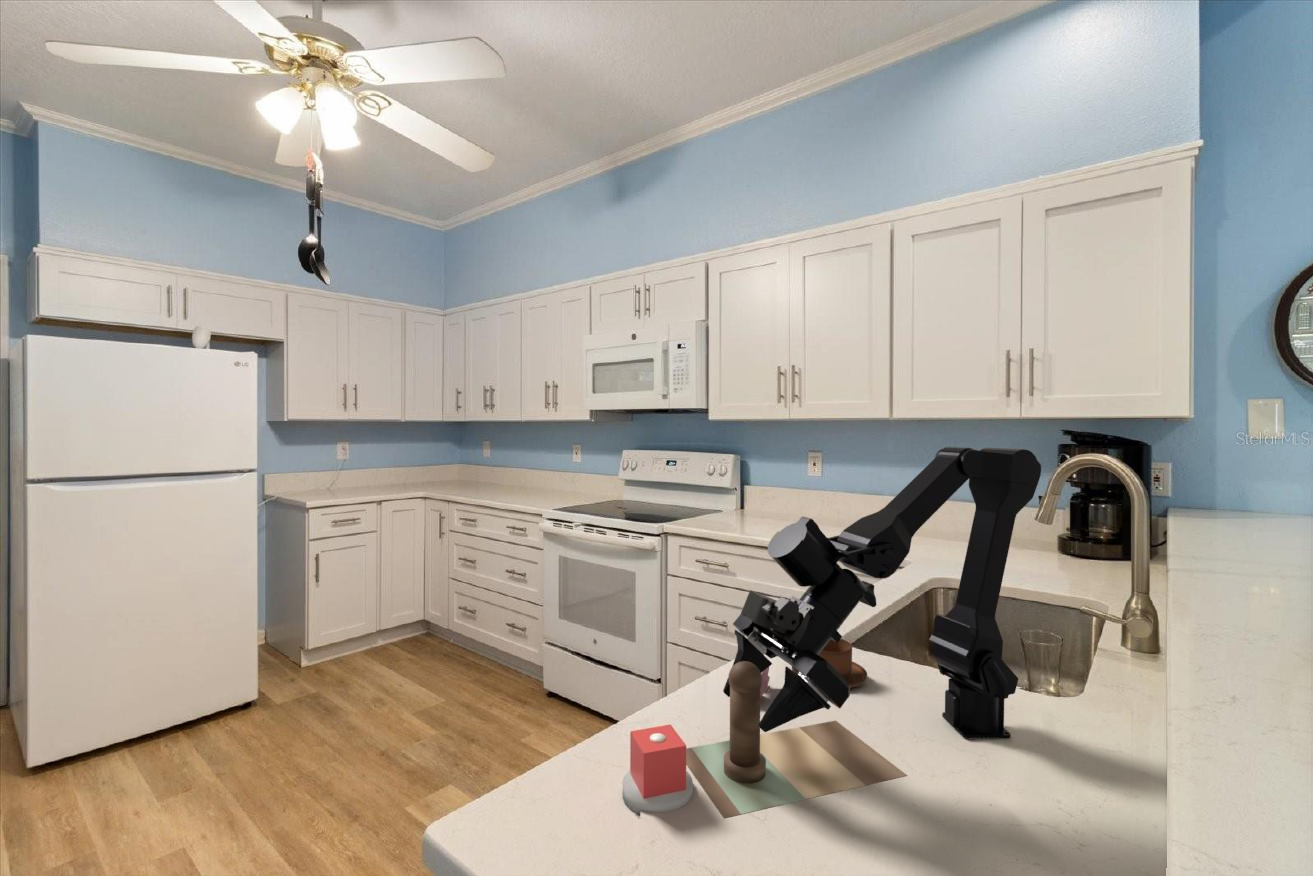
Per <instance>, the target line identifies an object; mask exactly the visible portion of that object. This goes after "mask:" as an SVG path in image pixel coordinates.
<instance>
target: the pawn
mask: <svg viewBox="0 0 1313 876" xmlns="http://www.w3.org/2000/svg"><path fill="white" fill-rule="evenodd" d="M732 666H733V665H732ZM727 679H728V680H729V684H730V697H729V740H730V750H729V751H727V752H726V753H725V755H724V773H725V775H726V776H727V777H728V778H730V779H731V780H733V781H736V782H739V783H745V784H750V783H756V782H759V781H761V780H762V779H764V777H765V775H766V759H765V757H764V756H763V755H762V754H761V753H760V735H761V728H760V727H759V723H760V721H761V698H760V688H761V685H762V675H761V672H760V670H759V669H758V667H757V666H756V665H754V664H753V663H751V662H748V661H741V662H738V663H736V664H735V665H734V666H733V667H730V670H729V673H728V676H727Z"/></svg>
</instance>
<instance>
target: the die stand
mask: <svg viewBox="0 0 1313 876" xmlns="http://www.w3.org/2000/svg"><path fill="white" fill-rule="evenodd" d="M629 733H630V736H629V738H630V739H629V740H630V743H629V744H630V745H629V747H630V751H629V753H630V756H629V757H630V758H629V759H630V760H629V763H630V765H629V766H630V767H629V770H628V771H627V772H626V773H625V774H624V776H623V779H622V800H623V803H624V805H626V807H627V808H628V809H629V810H631V811H632V812H634V813H635V814H637V815H641V811H645V812H649V813H666V812H671V811H676V810H678V809H680V808H682V807H683V806H684V805H686V804H687V803H688V802H689V801H690V800H691V798H692V796H693V790H694V789H693V788H694V783H693V778H692V776H691V774H690V773H689V772H688V771H687V765H686V748H687V745H686V743H685V741H684V740H683V739H682V738H681V736H680V735H679V734H678V733H677V730H675V728H674V727H673V725H672V724H666V725H659V726H654V727H648V728H642V729H635V730H631V731H630V732H629Z"/></svg>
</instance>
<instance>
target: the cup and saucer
mask: <svg viewBox="0 0 1313 876" xmlns="http://www.w3.org/2000/svg"><path fill="white" fill-rule="evenodd" d="M819 656H820V657H822V658H823V659H825V660H827V662H828V663H829V664H830V665H831V666H832V667H833V668H834V669H835V670H836V671H837V672H838V673H839V674H840V675H841V676H842V677H843V678H844V679H845V680H846V681H847V682H848V683H849V684H850V690H852V689H854V688H857V687H859V686H860V685H862V684H863V683H865V682H866V680H867V677H868V671H867V670H866V669H865V668H864V666H862V665H860V664H858V663H857V662H854V661H853V644H851V643H850V642H849V641H848V640H846V639H843V638H841V639H840V640H839V642H838V643H837V642H835V641H833V640H831V639H830V641H829V642H828V643H827V644H826V646H825V647H824V648H823V650H822V651H821V652H820V654H819ZM791 670H792V671H794V672H795V673H797V674H798V673H799V671H798V670H796V669H795V668H794V667H793V666H791Z"/></svg>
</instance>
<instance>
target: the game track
mask: <svg viewBox="0 0 1313 876" xmlns="http://www.w3.org/2000/svg"><path fill="white" fill-rule="evenodd" d="M729 750H730V739H728V740H724V741H721V742H720V741H719V742H714V743H709V744H708V743H707V744H702V745H697V746H692V747H686V767H687V768H688V769H689V771H690V772H691V774H692V775H693V776H694V778H695V779H696V781H697V782H698V783H699V785H700V786H701V787H702V789H703V790H704V792H705V794H706V795H707V796H708V798H709V799H710V801H711V802H712V804H713V805H714V807H715V808H716V809H717V811H718V812H719V814H720V815H721V817H722V818H723V819H728V818H732V817H736V816H740V815H741V816H742V815H745V814H748V813H753V812H756V811H757V812H758V811H762V810H766V809H770V808H774V807H779V806H784V805H788V804H791V803H796V802H800V801H804V800H809V799H814V798H817V797H821V796H825V795H830V794H835V793H837V792H838V793H839V792H843V791H847V790H851V789H856V788H861V787H864V786H865V787H866V786H869V785H873V784H877V783H882V782H886V781H889V780H890V781H891V780H894V779H898V778H904V777H907V776H908V774H907V773H905V772H904V771H903V770H901V769H900V768H899V767H897V766H896V765H895V764H893V763H892V762H890V760H888V759H887V758H886V757H884V756H883V755H881V754H880V753H879V752H878V751H876V750H875V749H874V748H873V747H872V746H870V745H868V744H867V743H866V742H864V741H863V740H862V739H860V738H859V737H858V736H857V735H856V734H854V733H853V732H851V731H850V730H849V729H848V728H846V727H845V726H844V725H842V724H841V723H840V722H838V721H837V720H831V721H830V720H829V721H826V722H821V723H815V724H811V725H809V724H808V725H805V726H799V727H793V728H789V729H783V730H778V731H772V732H765V733H760V753H761V754H762V755H763V756H764V757H765V759H766V775H765V777H764V779H762V780H761V781H759V782H756V783H750V784H745V783H739V782H736V781H733V780H731V779H730V778H728V777H727V776H726V775H725V773H724V755H725V753H726V752H727V751H729Z"/></svg>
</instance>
